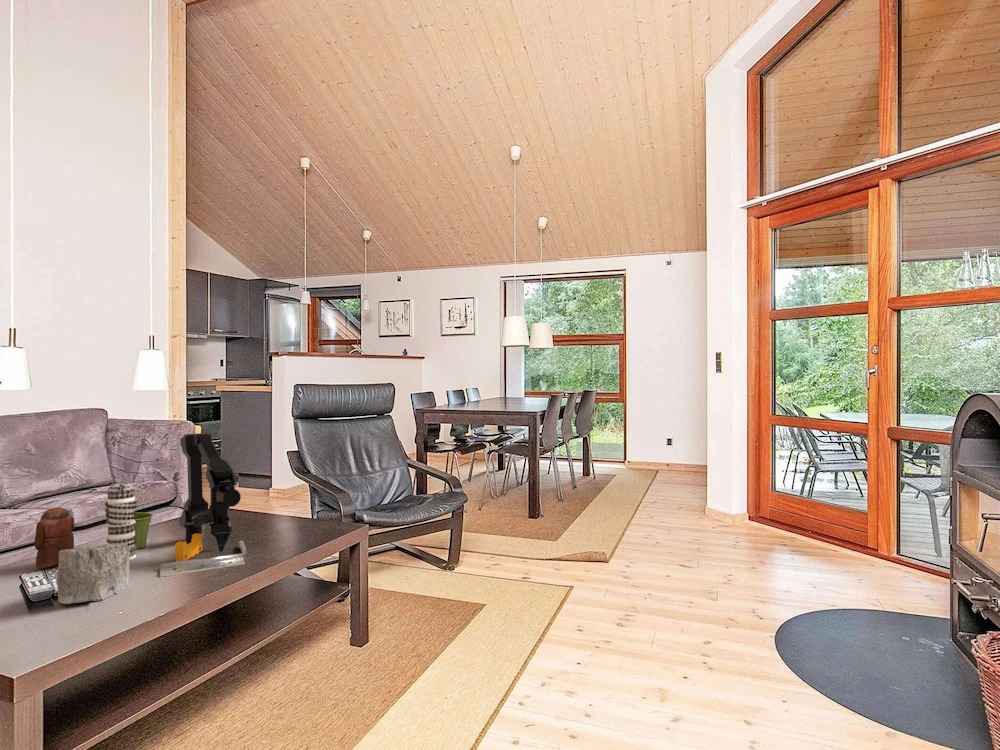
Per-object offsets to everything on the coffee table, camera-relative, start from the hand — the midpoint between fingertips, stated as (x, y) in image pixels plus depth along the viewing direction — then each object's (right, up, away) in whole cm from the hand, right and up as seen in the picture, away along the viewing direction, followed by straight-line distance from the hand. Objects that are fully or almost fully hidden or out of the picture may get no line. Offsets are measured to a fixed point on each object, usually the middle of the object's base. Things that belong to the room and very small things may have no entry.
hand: (219, 547), depth 209 cm
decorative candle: (-32, -3, -3) cm, 32 cm away
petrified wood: (-19, -3, -35) cm, 40 cm away
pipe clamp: (-11, -3, -2) cm, 11 cm away
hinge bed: (-2, -3, -7) cm, 8 cm away
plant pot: (-35, -3, +9) cm, 36 cm away
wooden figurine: (-51, -3, -8) cm, 51 cm away
